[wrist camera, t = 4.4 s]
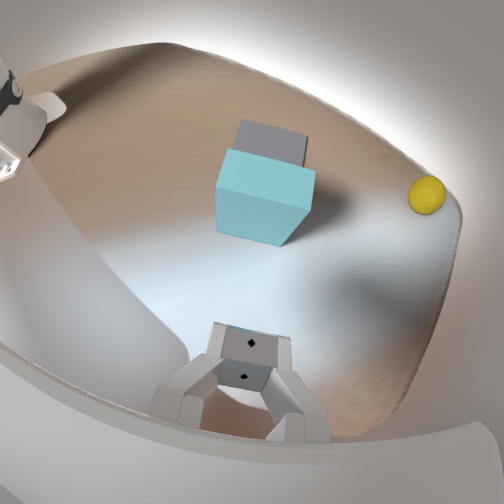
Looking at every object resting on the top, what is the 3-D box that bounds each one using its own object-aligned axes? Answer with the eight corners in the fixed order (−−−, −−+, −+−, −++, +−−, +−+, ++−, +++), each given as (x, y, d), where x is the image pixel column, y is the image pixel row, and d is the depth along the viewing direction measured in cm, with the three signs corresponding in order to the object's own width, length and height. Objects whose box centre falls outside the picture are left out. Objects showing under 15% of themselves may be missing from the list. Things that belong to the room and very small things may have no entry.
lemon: (402, 219, 37) (434, 200, 29) (396, 187, 38) (424, 164, 30) (426, 222, 38) (458, 205, 30) (420, 191, 39) (448, 171, 31)
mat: (294, 212, 35) (295, 211, 34) (218, 193, 34) (219, 192, 34) (306, 137, 38) (306, 135, 38) (242, 120, 38) (242, 119, 37)
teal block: (280, 247, 34) (310, 210, 22) (216, 231, 33) (215, 187, 22) (285, 217, 35) (315, 171, 23) (224, 202, 34) (227, 148, 23)
